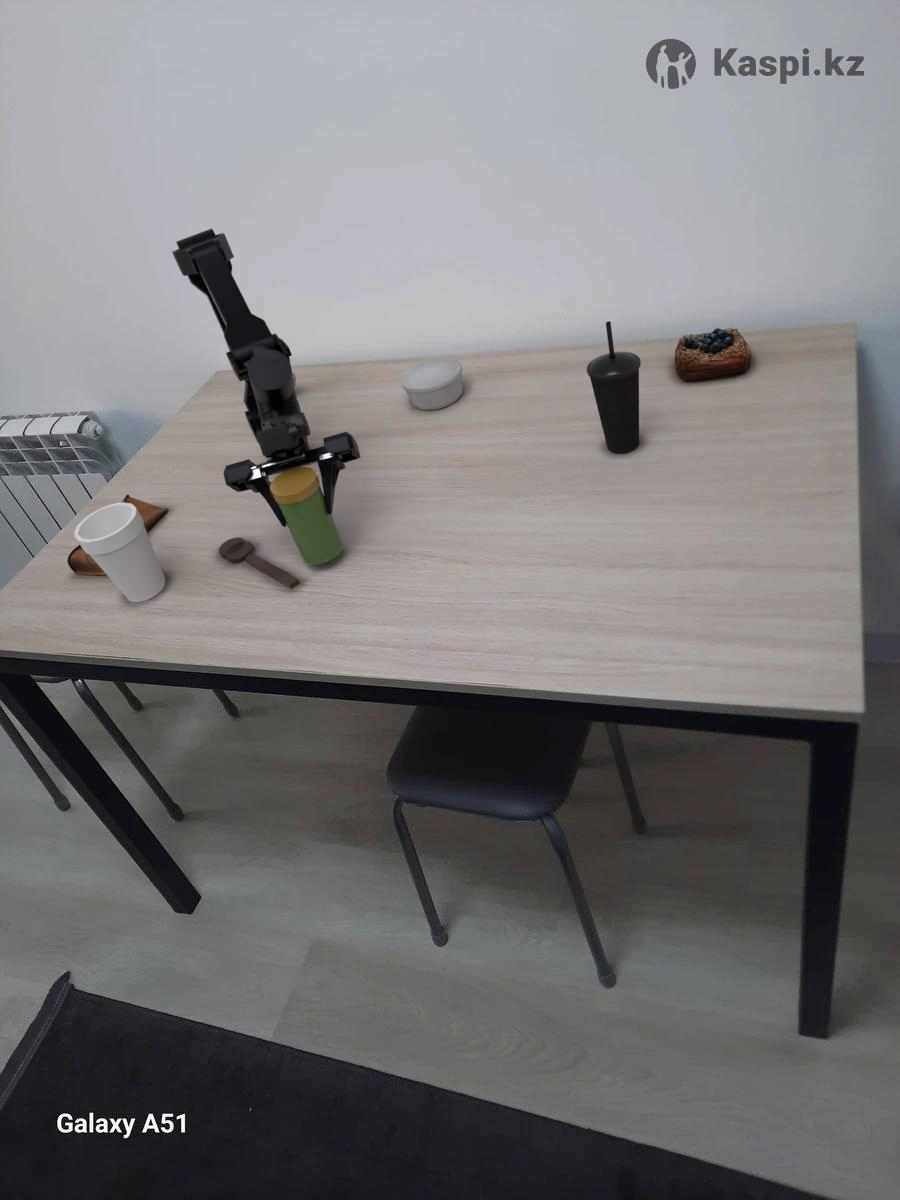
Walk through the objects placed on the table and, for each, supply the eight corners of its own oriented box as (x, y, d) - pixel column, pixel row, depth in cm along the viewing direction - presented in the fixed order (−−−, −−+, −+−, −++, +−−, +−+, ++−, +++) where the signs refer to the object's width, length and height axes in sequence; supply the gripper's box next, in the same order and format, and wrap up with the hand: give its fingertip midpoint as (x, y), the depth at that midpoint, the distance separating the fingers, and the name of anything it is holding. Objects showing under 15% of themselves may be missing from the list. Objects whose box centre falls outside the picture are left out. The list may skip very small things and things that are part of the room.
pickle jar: (291, 556, 127) (260, 487, 119) (325, 531, 130) (297, 462, 121) (318, 570, 122) (288, 500, 114) (353, 544, 125) (325, 474, 117)
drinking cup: (592, 459, 130) (574, 336, 118) (604, 431, 135) (588, 311, 123) (642, 459, 127) (629, 334, 114) (653, 431, 132) (641, 308, 119)
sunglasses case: (111, 573, 137) (77, 545, 135) (94, 589, 142) (60, 562, 139) (171, 506, 149) (140, 479, 147) (152, 522, 154) (123, 496, 152)
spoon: (215, 553, 135) (213, 549, 135) (237, 538, 137) (235, 534, 137) (283, 594, 123) (281, 590, 122) (307, 577, 125) (305, 572, 124)
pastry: (672, 356, 148) (669, 324, 145) (744, 343, 146) (744, 311, 142) (678, 387, 140) (676, 354, 136) (755, 374, 138) (755, 340, 134)
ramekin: (396, 411, 157) (388, 386, 154) (428, 381, 163) (421, 355, 160) (447, 416, 151) (440, 390, 148) (478, 384, 157) (472, 358, 154)
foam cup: (109, 591, 134) (66, 526, 126) (161, 561, 138) (123, 495, 129) (129, 617, 128) (86, 550, 120) (183, 584, 131) (145, 516, 123)
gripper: (198, 417, 114) (225, 529, 113) (331, 379, 114) (361, 491, 112) (225, 439, 126) (250, 540, 124) (347, 404, 125) (374, 506, 123)
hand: (307, 520), depth 121 cm, fingers closed on pickle jar, 6 cm apart
